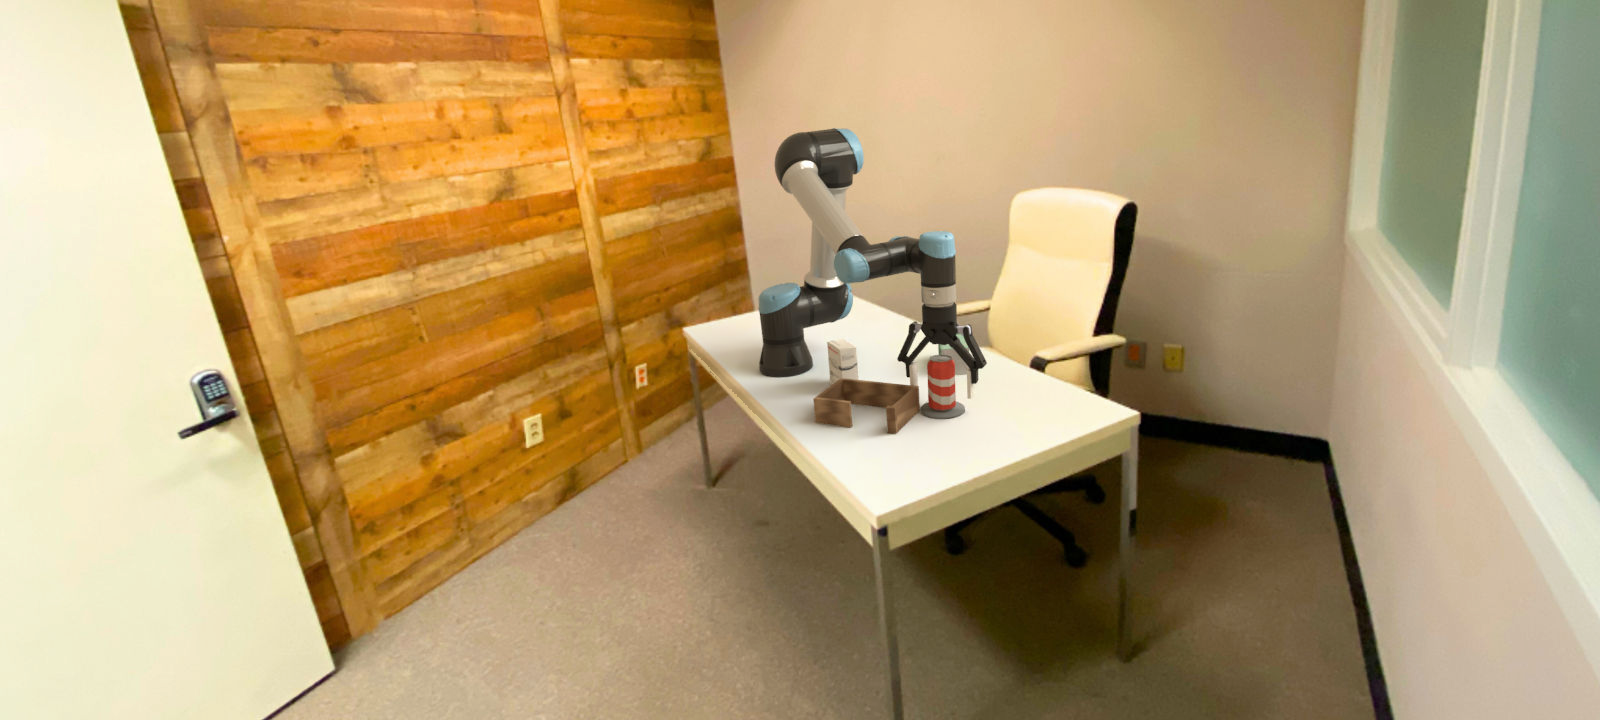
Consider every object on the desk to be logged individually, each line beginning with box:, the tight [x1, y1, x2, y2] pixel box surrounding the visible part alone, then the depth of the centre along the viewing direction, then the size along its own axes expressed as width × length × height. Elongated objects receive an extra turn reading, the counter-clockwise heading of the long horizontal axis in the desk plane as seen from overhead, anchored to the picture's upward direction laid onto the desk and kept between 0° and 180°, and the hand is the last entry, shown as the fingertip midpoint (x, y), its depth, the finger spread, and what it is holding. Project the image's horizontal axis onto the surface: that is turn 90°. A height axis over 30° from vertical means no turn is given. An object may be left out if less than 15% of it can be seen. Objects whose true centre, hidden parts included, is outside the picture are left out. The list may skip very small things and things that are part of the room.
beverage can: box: [926, 354, 957, 411], centre depth 169 cm, size 6×6×12 cm
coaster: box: [920, 401, 966, 420], centre depth 171 cm, size 10×10×1 cm
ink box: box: [826, 338, 860, 386], centre depth 190 cm, size 8×5×12 cm, turn 20°
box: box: [937, 333, 970, 376], centre depth 198 cm, size 7×14×8 cm, turn 173°
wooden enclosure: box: [813, 378, 921, 435], centre depth 171 cm, size 20×14×6 cm
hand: (942, 393), depth 170 cm, fingers open, 13 cm apart
